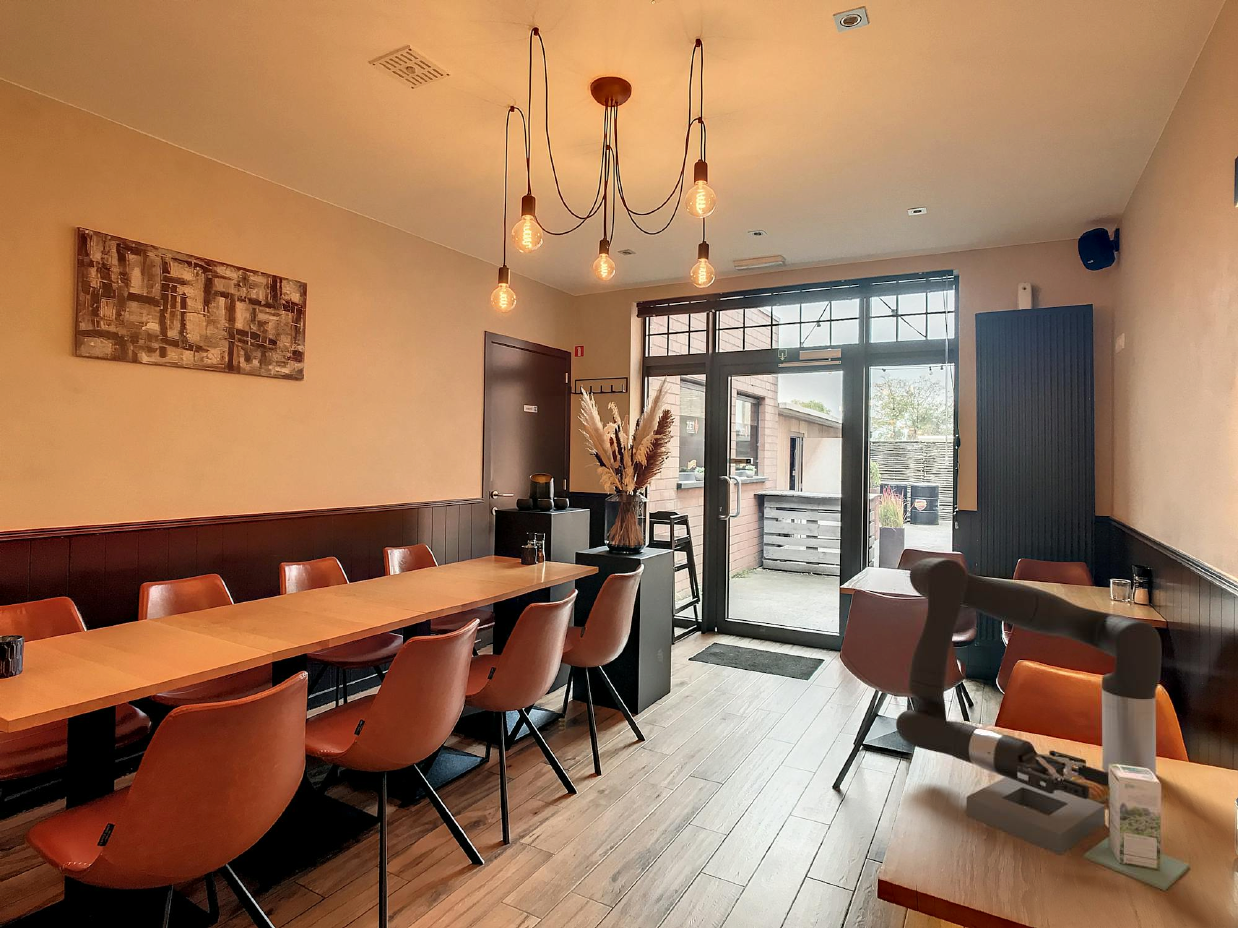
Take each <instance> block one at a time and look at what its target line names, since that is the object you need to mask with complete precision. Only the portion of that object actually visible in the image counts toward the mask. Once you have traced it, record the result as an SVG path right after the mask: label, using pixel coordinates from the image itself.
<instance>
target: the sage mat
mask: <svg viewBox="0 0 1238 928" xmlns="http://www.w3.org/2000/svg"><path fill="white" fill-rule="evenodd" d="M1083 858H1085V859H1086V860H1088V861H1092V862H1095V863H1096V864H1099V865H1101V866H1104V867H1106V868H1108V869H1110V870H1114V871H1116V872H1118V873H1121V874H1124V875H1125V876H1128V877H1129V878H1130V877H1131V878H1133V879H1135V880H1137V881H1140V882H1143V883H1145V884H1147V885H1150V886H1151V887H1154V888H1157V889H1160V890H1162V891H1166V890H1167V889H1169V888H1170V887H1171V885H1173V883H1175V882H1176V881H1177V880H1178V879H1179V878H1180V877H1181V876H1182V875H1183V874H1185V872H1186V871H1188V869H1190V864H1189V863H1186V862H1184V861H1182V860H1179V859H1176V858H1173V857H1171V856H1169V855H1165V854H1163V853H1161V870H1155V869H1150V868H1144V867H1138V866H1133V865H1127V864H1121V863H1119V861H1118V860H1117V858H1116V857H1115V855H1114V853H1113V852H1112V850H1111V849H1110V847H1109V844H1108V836H1107V837H1106V838H1105V839H1102V841H1101V842H1098V843H1097V844H1096V845H1095V846H1093V847H1092V848H1091V849H1089V850H1088V851H1087V852H1085V853H1084V854H1083Z"/></svg>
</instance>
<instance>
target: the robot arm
mask: <svg viewBox="0 0 1238 928" xmlns="http://www.w3.org/2000/svg"><path fill="white" fill-rule="evenodd" d="M909 581H910V583H911V584H910V585H911V586H912V587H913V589H914V591H916V593H918V594H919V596H921V597H924V598H925V599H927V613H926V619H925V623H924V626H923V628H922V631H921V633H920V636H919V638H918V639H917V642H916V644H915V647H914V649H913V652H912V656H911V660H910V661H911V662H910V667H909V668H910V669H909V675H908V683H907V684H908V686H907V687H908V691H909V694H911V696H914V697H915V709H908V710H904V711H903V712H901V713H900V714H899V716H897V719H896V722H895V726H896V727H895V728H896V731H897V733H898V735H899V736H900V737H901V739H902V740H903V741H904V742H905V743H907V744H908V745H911V746H914V747H917V748H919V749H924V750H927V751H932V752H934V753H935V752H936V753H940V754H945V755H948V756H951V757H953V758H956V759H958V760H960V761H963V762H967V763H969V764H972V765H975V766H978V767H979V768H981V769H983V770H986V771H988V772H990V773H994V774H996V775H999V776H1002V777H1003V778H1005V777H1007V778H1010V779H1013V780H1016V781H1018V782H1021V783H1023V784H1026V785H1028V786H1031V787H1034V788H1036V789H1039V790H1042V791H1044V792H1047V793H1050V794H1053V793H1054V790H1055V791H1056V792H1066V793H1069V794H1072V795H1074V796H1077V797H1080V798H1083V799H1087V798H1089V787H1088V786H1087V785H1085V784H1082V783H1079V782H1076V781H1073V780H1071V779H1072V778H1073V777H1076V778H1084V779H1086V780H1089V781H1092V782H1095V783H1098V784H1101V785H1104V786H1108V785H1109V784H1108V780H1109V779H1108V770H1109V768H1108V767H1109V763H1110V764H1118V765H1126V766H1133V767H1141V768H1148V769H1149V770H1150V771H1151V772H1152V773H1153V774H1154V775H1155V776H1156V777H1157V774H1156V773H1157V735H1156V733H1157V732H1156V731H1157V729H1156V725H1157V724H1156V721H1157V720H1156V717H1157V716H1156V691H1157V688H1158V686H1159V684H1160V682H1161V672H1162V670H1161V669H1162V656H1163V655H1162V654H1163V653H1162V648H1163V647H1162V640H1161V636H1160V634H1159V632H1158V630H1157V629H1156V628H1155V627H1154V626H1153V625H1151V624H1150V623H1148V622H1145V621H1143V620H1140V619H1139V620H1138V619H1135V618H1132V617H1129V616H1126V615H1121V614H1115V613H1109V612H1104V611H1099V610H1093V609H1090V608H1085V607H1082V606H1079V605H1077V604H1074V603H1072V602H1070V601H1068V600H1067V599H1065V598H1063V597H1060V596H1058V595H1057V594H1054V593H1052V592H1049V591H1046V590H1043V589H1040V588H1037V587H1033V586H1030V585H1026V584H1024V583H1020V582H1013V581H1009V580H1004V579H1003V580H1002V579H998V578H991V577H983V576H979V575H975V574H972V573H969V572H967V571H966V569H965V568H964V566H963V565H962V564H961V563H960V562H958V561H957V560H955V559H951V558H944V557H929V558H923V559H921V560H919V561H917V562H916V563H915V564H914V565H913V566H912V568H911V569H910V572H909ZM962 606H963V607H966V608H969V609H972V610H974V611H976V612H979V613H982V614H984V615H986V616H988V617H991V618H994V619H996V620H999V621H1001V622H1004V623H1007V624H1010V625H1012V626H1015V627H1017V628H1021V629H1024V630H1027V631H1030V632H1033V633H1039V634H1043V635H1047V636H1053V637H1065V638H1069V639H1071V640H1075V641H1077V642H1080V643H1083V644H1086V645H1087V646H1090V647H1091V648H1094V649H1096V650H1099V651H1101V652H1103V653H1104V654H1107V655H1108V656H1111V657H1114V658H1115V663H1114V665H1115V666H1114V671H1113V672H1111V673H1106V674H1104V675H1103V676H1102V678H1101V713H1102V714H1101V716H1102V717H1101V721H1102V723H1101V727H1102V728H1101V729H1102V730H1101V733H1102V734H1101V735H1102V736H1101V737H1102V738H1101V740H1102V741H1101V742H1102V745H1101V746H1102V751H1101V752H1102V753H1101V754H1102V756H1101V757H1102V760H1101V761H1102V764H1101V765H1102V769H1103V770H1100V769H1097V768H1095V767H1091V766H1087V760H1086V759H1083V758H1080V757H1076V756H1073V755H1069V754H1066V753H1063V752H1059V751H1055V750H1054V749H1053V750H1052V749H1050V750H1049V751H1048V753H1037V751H1036V749H1035V747H1034V745H1033V743H1031V742H1030V741H1028V740H1025V739H1023V738H1018V737H1015V736H1012V735H1009V734H1005V733H1002V732H999V731H995V730H991V729H985V728H981V727H978V726H975V725H971V724H968V723H966V722H960V721H951V720H947V711H946V702H945V696H944V695H945V688H946V682H947V681H946V680H947V673H948V666H949V665H948V664H949V656H950V652H951V651H950V650H951V647H952V642H953V638H954V633H955V630H956V626H957V623H958V619H959V615H960V612H961V609H962ZM1040 782H1041V783H1042V784H1043V785H1045V786H1043V785H1041V784H1040Z"/></svg>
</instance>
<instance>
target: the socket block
mask: <svg viewBox="0 0 1238 928" xmlns="http://www.w3.org/2000/svg"><path fill="white" fill-rule="evenodd" d="M1040 784H1041V785H1043V784H1042V783H1041V782H1040ZM1043 786H1045V785H1043ZM966 816H967V817H969V818H972V819H974V820H976V821H978V822H981V823H984V824H986V825H988V826H990V827H993V828H996V829H998V830H1000V831H1002V832H1005V833H1007V834H1009V835H1012V836H1015V837H1016V838H1019V839H1021V840H1024V841H1026V842H1028V843H1031V844H1033V845H1036V846H1039V847H1041V848H1043V849H1045V850H1047V851H1050V852H1052V853H1054V854H1057V855H1059V856H1062V855H1064V853H1066V852H1067V851H1069V850H1071V848H1073V847H1075V846H1076V845H1077V844H1080V842H1082V841H1084V840H1085V839H1086V838H1087V837H1089V836H1091V835H1092V834H1093V833H1095V832H1096V831H1097V830H1098V829H1101V828H1102V827H1103V826H1105V825H1106V804H1103V803H1098V802H1095V801H1092V800H1089V799H1083V798H1080V797H1077V796H1074V795H1072V794H1069V793H1066V792H1056V791H1055V790H1054V793H1053V794H1050V793H1047V792H1044V791H1042V790H1039V789H1036V788H1034V787H1031V786H1028V785H1026V784H1023V783H1021V782H1018V781H1016V780H1013V779H1010V778H1007V777H1003V778H1000V779H999V780H997V781H995V782H993V783H991V784H988V785H987V786H985V787H983V788H980V789H979V790H977V791H975V792H972V793H971V794H969V795H967V796H966Z"/></svg>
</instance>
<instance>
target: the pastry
mask: <svg viewBox="0 0 1238 928" xmlns="http://www.w3.org/2000/svg"><path fill="white" fill-rule="evenodd" d="M1070 780H1073V781H1076V782H1079V783H1082V784H1085V785H1087V786H1088V787H1089V798H1087V799H1089V800H1092V801H1095V802H1098V803H1101V804H1103V803H1106V801H1107V800H1108V799H1109V785H1108V786H1104V785H1101V784H1098V783H1095V782H1092V781H1089V780H1086V779H1084V778H1076V777H1072V778H1071V779H1070Z"/></svg>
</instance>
